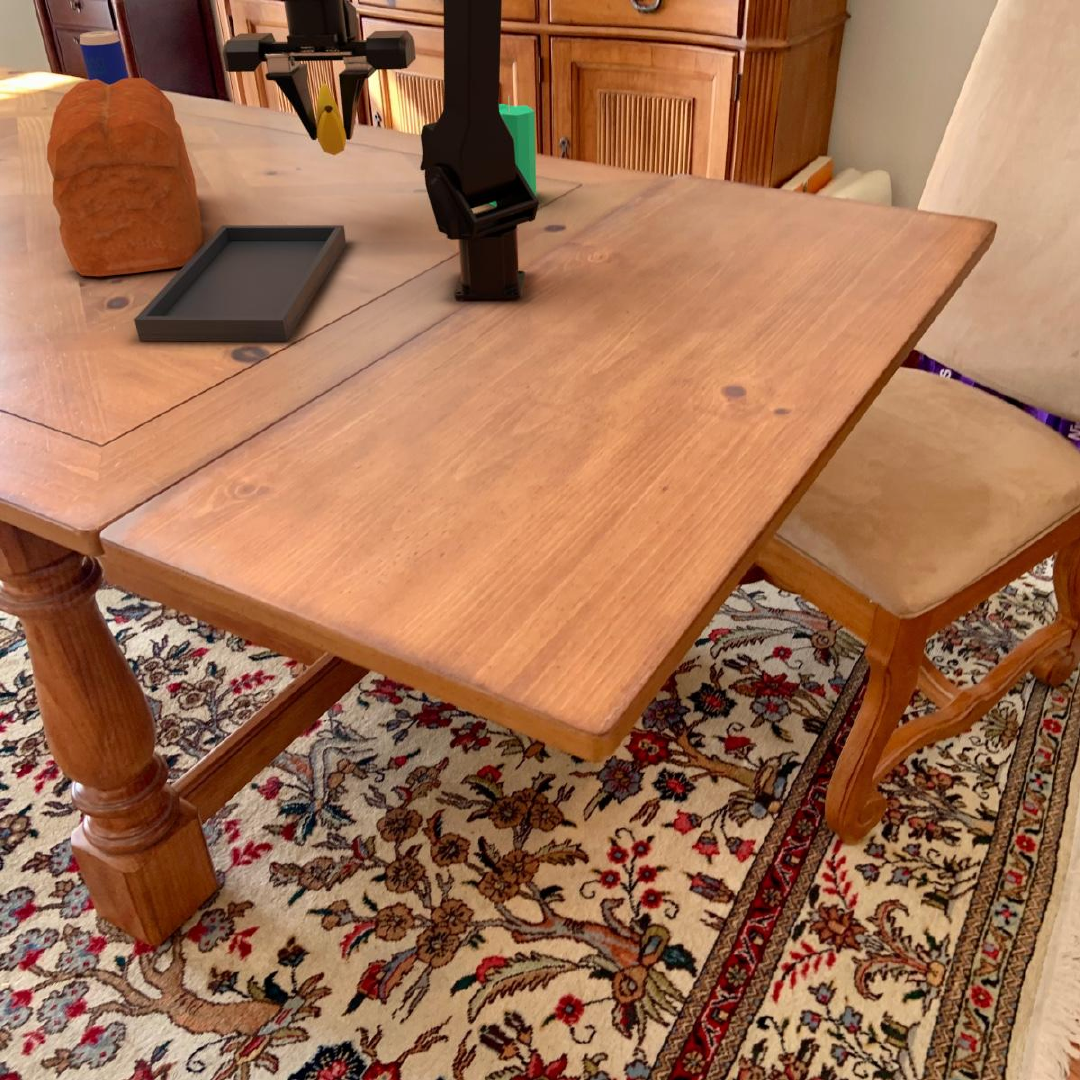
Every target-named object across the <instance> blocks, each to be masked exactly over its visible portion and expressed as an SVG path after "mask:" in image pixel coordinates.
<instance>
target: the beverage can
mask: <svg viewBox="0 0 1080 1080" xmlns="http://www.w3.org/2000/svg"><path fill="white" fill-rule="evenodd" d="M79 45H80V49H81V53H82V56H83V57H82V58H83V61H84V64H85V69H86V73H87V76H88V81H90V80H94V79H98V80H100V81H102V82H104V83H106V84H108V85H111V84H113V83H116V82H117V81H119V80H122V79H126V78H129V74H128V69H127V66H126V61H125V57H124V53H123V49H122V45H121V40H120V38H119V36H118V34H117V32H116V31H115V30H114V31H113V30H96V31H88V32H83V33H81V34H80V35H79Z"/></svg>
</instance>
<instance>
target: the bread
mask: <svg viewBox="0 0 1080 1080" xmlns="http://www.w3.org/2000/svg"><path fill="white" fill-rule="evenodd" d="M46 146H47V147H46V161H47V164H48V167H49V170H50V173H51V175H52V178H53V180H52V204H53V206H54V208H55V210H56V212H57V213H58V215H59V220H60V223H59V226H58V227H59V228H58V229H59V234H60V238H61V239H60V240H61V243H62V246H63V249H64V250H65V253H66V255H67V257H68V259H69V261H70V264H71V266H72V268H73V269H74V271H76V272H77V273H78V274H79V275H81V276H87V277H104V276H105V277H108V276H116V275H128V274H136V273H143V272H150V271H151V272H152V271H159V270H167V269H173V268H174V269H175V268H180V267H184V266H185V264H186V263H187V262H188V261H189V260H190V259H191V258H192V257H193V256H194V255H195V254H196V253H197V252H198V251H199V250H200V248H201V247H202V246H203V245H204V239H203V231H202V221H201V211H200V206H199V200H198V199H199V198H198V192H197V185H196V177H195V174H194V171H193V167H192V165H191V161H190V158H189V154H188V151H187V147H186V142H185V139H184V135H183V131H182V127H181V125H180V124H179V123H178V121H177V120H176V113H175V110H174V105H173V103H172V102H171V100H169V98H168V97H167V96H166V95H165V94H164V92H163V91H162V90H161V89H160V88H158V87H157V86H155V84H153V83H151V82H150V81H149V80H147V79H146V78H144V77H128V78H126V79H122V80H119V81H117V82H116V83H113V84H111V85H108V84H106V83H104V82H102V81H100V80H98V79H94V80H90V81H89V80H85V81H80V82H78V83H76V84H75V85H74V86H73V87H72V88H71V89H70V90H68V91H67V92H66V93H65V94H64V95H63V96H62V98H61V100H60V102H59V103H58V104H57V105H56V107H55V111H54V113H53V117H52V122H51V126H50V131H49V139H48V142H47V145H46Z"/></svg>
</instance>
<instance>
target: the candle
mask: <svg viewBox="0 0 1080 1080" xmlns="http://www.w3.org/2000/svg"><path fill="white" fill-rule="evenodd" d="M510 102H511V101H510V95H509V94H508V95H507V103H508V104H504V103H499V112H500V114H501V116H502V118H503V120H504V122H505V123H506V125H507V127H508V129H509V131H510V133H511V135H512V137H513V139H514V149H515V162H516V165H517V167H518V168H519V170H520V171H521V173H522V175H523V176H524V178H525V180H526V181H527V183H528V184H529V186H530V188H531V189H532V191H533V193H534V194H535V196H536V197H537V167H536V166H537V164H536V163H537V162H536V161H537V160H536V116H535V115H536V112H535V110H534V109H532V108H531V107H530V106H529V105H527V104H523V105H511V104H510ZM488 205H491V206H492V207H495V206H497V204H496V201H495V202H491V203H488Z"/></svg>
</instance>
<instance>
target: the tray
mask: <svg viewBox="0 0 1080 1080" xmlns="http://www.w3.org/2000/svg"><path fill="white" fill-rule="evenodd" d="M346 245H347V239H346V233H345V226H344V224H337V225H335V224H330V225H329V224H327V225H326V224H321V225H320V224H316V225H315V224H314V225H313V224H312V225H311V224H306V225H305V224H301V225H299V224H298V225H297V224H295V225H293V224H291V225H290V224H285V225H283V224H281V225H280V224H279V225H278V224H277V225H276V224H270V225H267V224H264V225H262V224H261V225H260V224H258V225H257V224H256V225H255V224H253V225H252V224H249V225H247V224H245V225H242V224H241V225H240V224H236V225H235V224H233V225H231V224H229V225H227V224H226V225H224V224H222V225H221V226H220V227H219V228H218V229H217V230H216V231H215V232H214V233H213V234H212V235H211V236H210V237H209V239H208V240H207V241H206V242H205V243H203V246H202V247H201V248H200V250H199V251H198V252H197V253H196V254H195V255H194V256H193V257H192V258H191V259H190V260H189V261H188V262H187V263H186V264H185V265H184V266H182V268H181V269H179V270H178V271H177V272H176V274H175V275H174V276H173V277H172V278H171V279H170V280H169V281H168V282H167V284H166V285H165V286H164V287H163V288H162V289H161V290H160V291H159V292H158V293H157V294H156V295H155V296H154V298H153V299H151V300H150V302H149V303H148V304H147V305H146V306H145V307H144V308H143V310H141V311H140V312H139V313H138V315H136V316H135V317H134V319H133V321H134V325H135V329H136V332H137V336H138V340H139V341H140V342H258V343H259V342H268V343H269V342H278V343H279V342H282V343H283V342H284V343H287V342H288V340H289V338H290V337H291V335H292V334H293V332H294V331H295V329H296V327H297V325H298V324H299V322H300V321H301V319H302V317H303V316H304V315H305V313H306V311H307V309H308V308H309V306H310V305H311V303H312V301H313V299H314V298H315V296H316V294H317V293H318V291H319V289H320V288H321V286H322V284H323V283H324V281H325V279H326V278H327V277H328V276H329V275H328V274H329V273H330V272H331V270H332V268H333V266H334V265H335V263H336V262H337V260H338V258H339V257H340V255H341V253H342V252H343V250H344V248H345V247H346Z"/></svg>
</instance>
